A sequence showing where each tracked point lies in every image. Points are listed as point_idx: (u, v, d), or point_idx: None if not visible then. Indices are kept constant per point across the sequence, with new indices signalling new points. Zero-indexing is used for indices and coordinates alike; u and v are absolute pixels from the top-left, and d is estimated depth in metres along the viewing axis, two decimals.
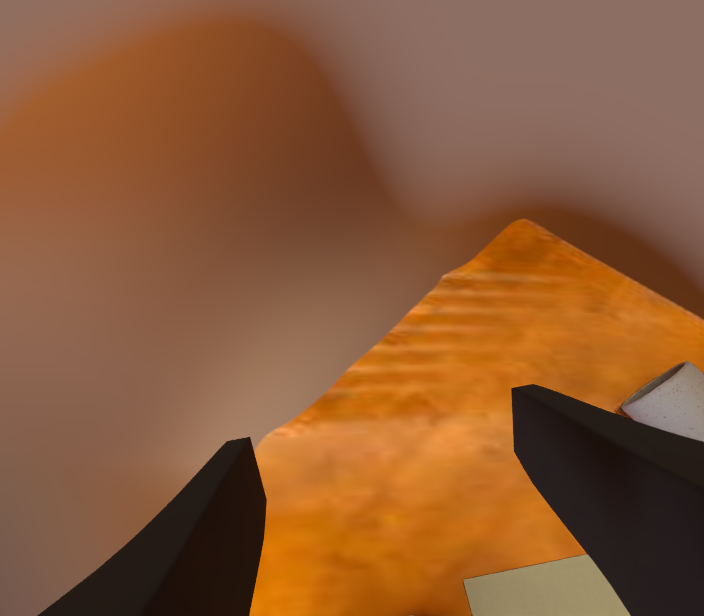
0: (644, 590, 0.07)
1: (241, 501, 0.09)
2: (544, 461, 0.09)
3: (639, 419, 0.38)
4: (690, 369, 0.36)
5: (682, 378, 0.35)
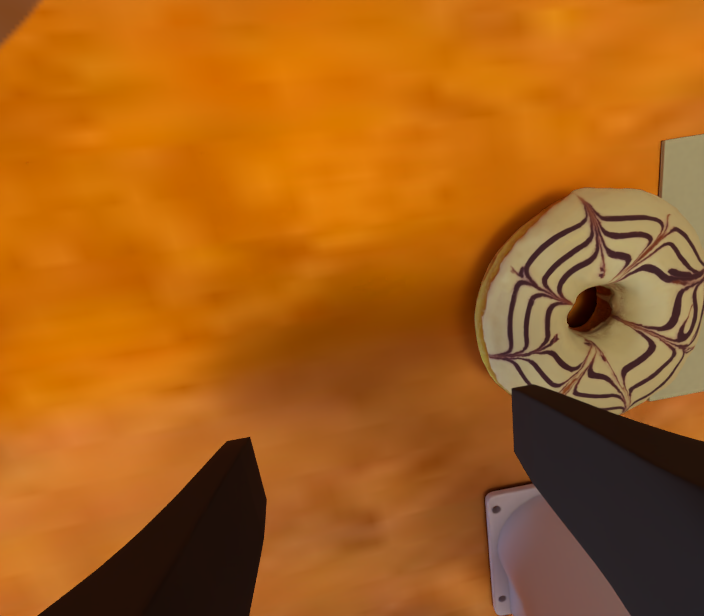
0: (644, 590, 0.07)
1: (241, 501, 0.09)
2: (544, 461, 0.09)
3: None
4: None
5: None
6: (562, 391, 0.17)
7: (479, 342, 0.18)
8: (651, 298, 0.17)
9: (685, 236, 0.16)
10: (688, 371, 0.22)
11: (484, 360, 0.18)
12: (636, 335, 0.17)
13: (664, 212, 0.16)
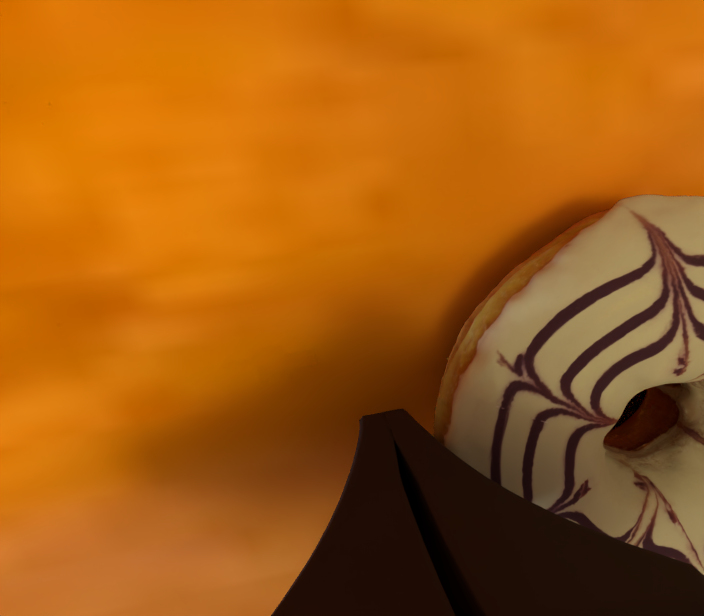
0: None
1: None
2: None
3: None
4: None
5: None
6: None
7: None
8: None
9: None
10: None
11: None
12: None
13: None
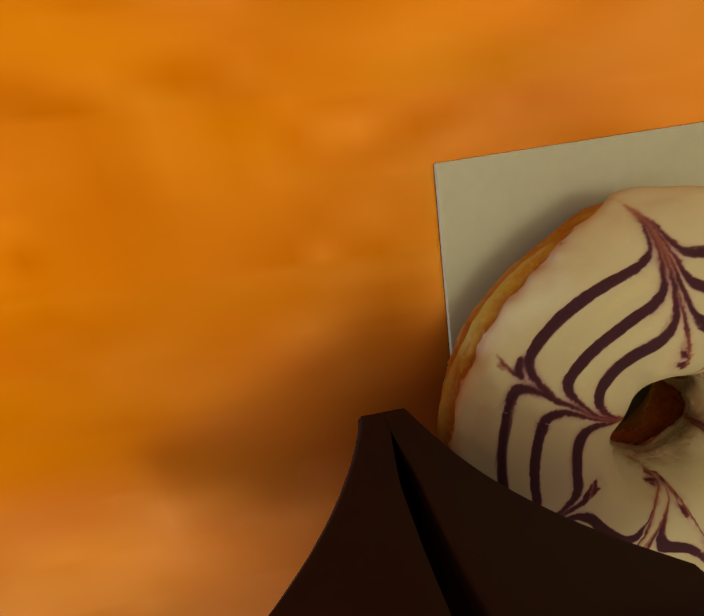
0: None
1: (396, 471, 0.09)
2: None
3: None
4: None
5: None
6: None
7: None
8: None
9: None
10: None
11: None
12: None
13: None
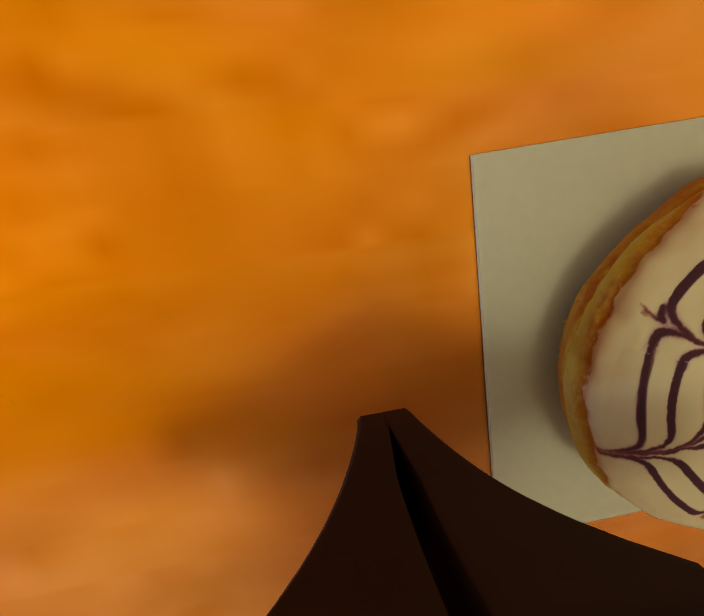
0: None
1: None
2: (401, 489, 0.09)
3: None
4: None
5: None
6: None
7: (575, 423, 0.11)
8: None
9: None
10: (553, 498, 0.14)
11: (582, 448, 0.11)
12: None
13: None
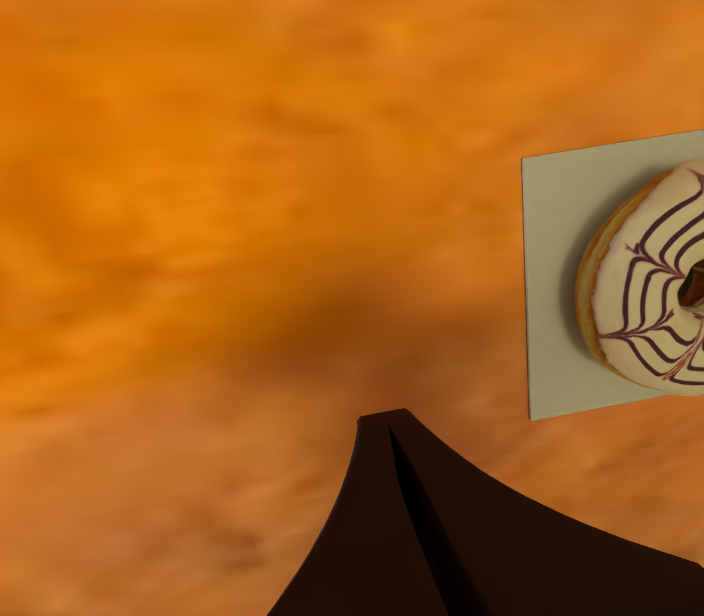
0: None
1: None
2: (401, 489, 0.09)
3: None
4: None
5: None
6: (676, 366, 0.17)
7: (585, 323, 0.18)
8: None
9: None
10: (569, 390, 0.21)
11: (589, 341, 0.18)
12: None
13: None
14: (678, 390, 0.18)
